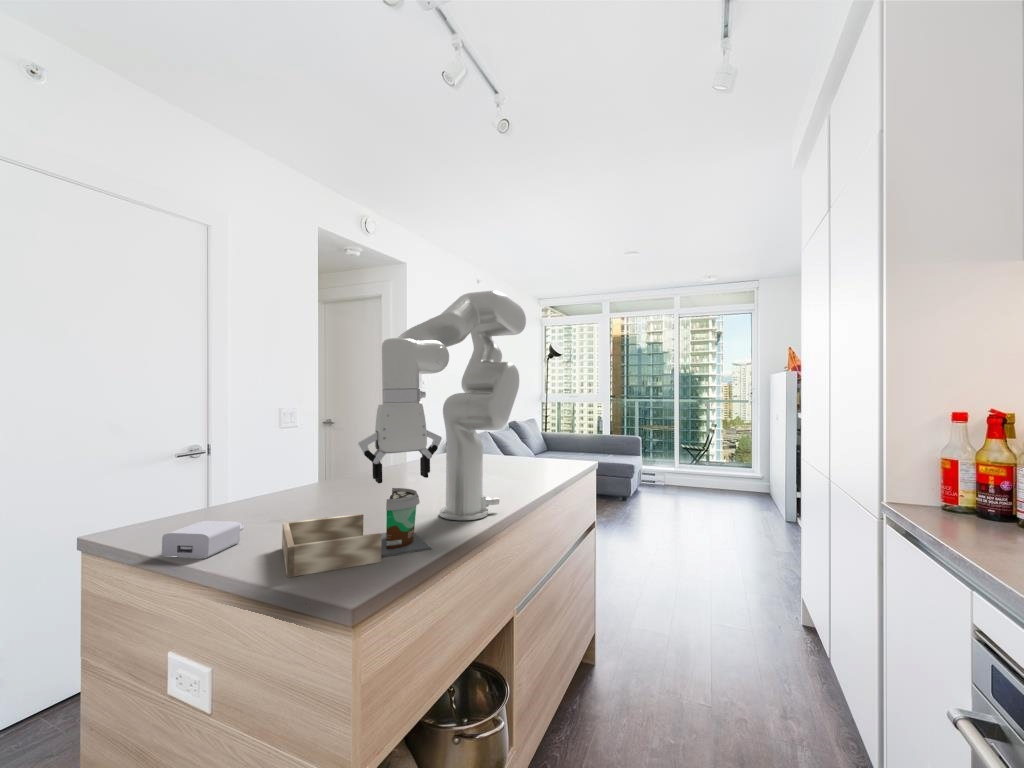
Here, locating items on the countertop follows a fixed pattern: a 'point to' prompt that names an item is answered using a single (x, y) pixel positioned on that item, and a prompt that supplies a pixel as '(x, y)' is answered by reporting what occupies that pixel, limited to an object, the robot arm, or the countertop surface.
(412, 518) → the food container
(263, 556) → the countertop surface
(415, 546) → the mat
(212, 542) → the charger
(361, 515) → the open box
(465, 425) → the robot arm
